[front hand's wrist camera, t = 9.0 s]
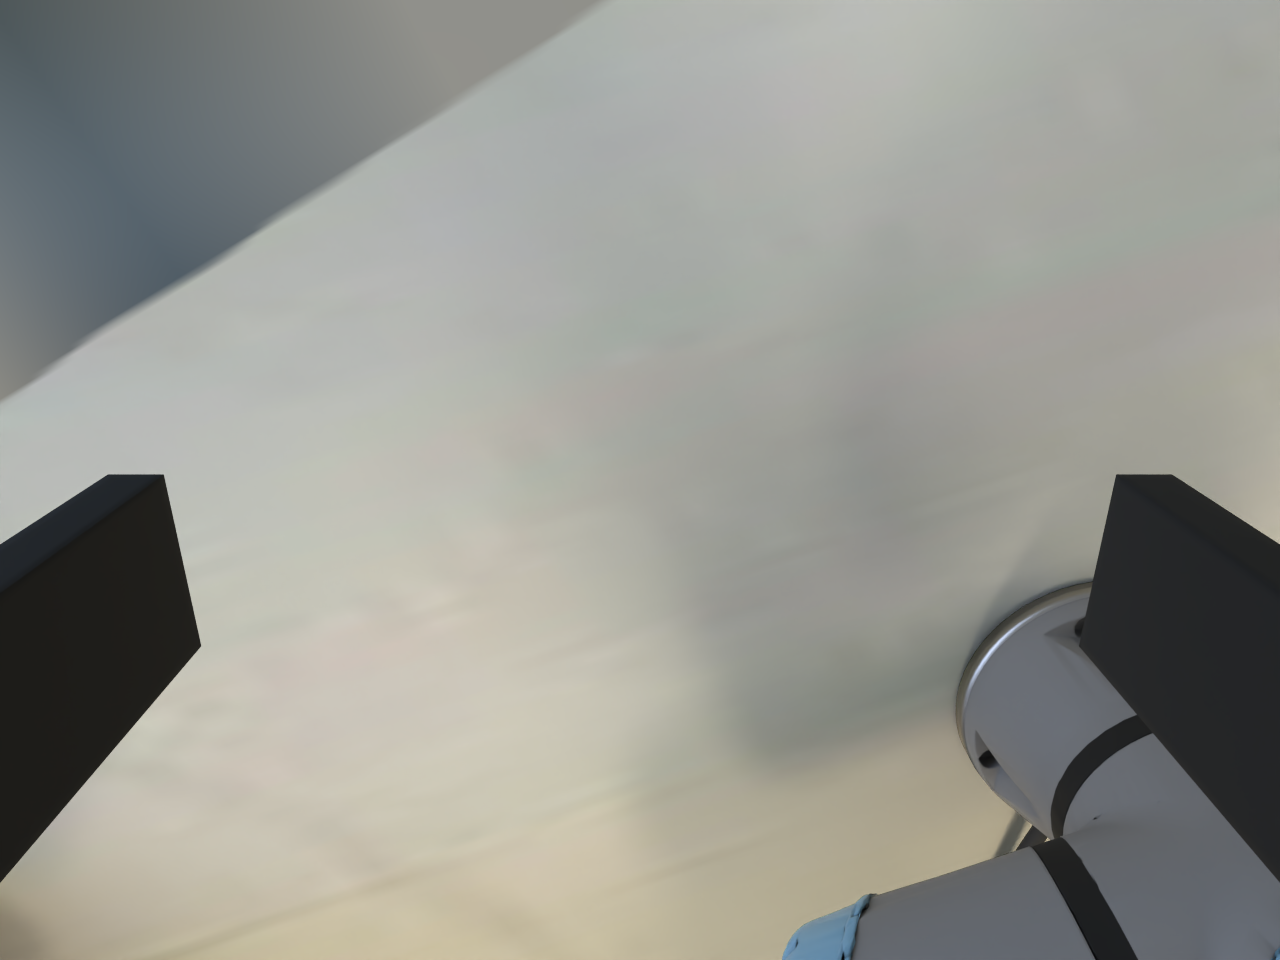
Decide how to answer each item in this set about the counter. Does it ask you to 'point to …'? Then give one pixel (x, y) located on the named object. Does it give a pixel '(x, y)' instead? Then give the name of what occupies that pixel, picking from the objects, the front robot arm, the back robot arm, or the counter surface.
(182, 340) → the counter surface
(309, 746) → the counter surface
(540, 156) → the counter surface
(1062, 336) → the counter surface
